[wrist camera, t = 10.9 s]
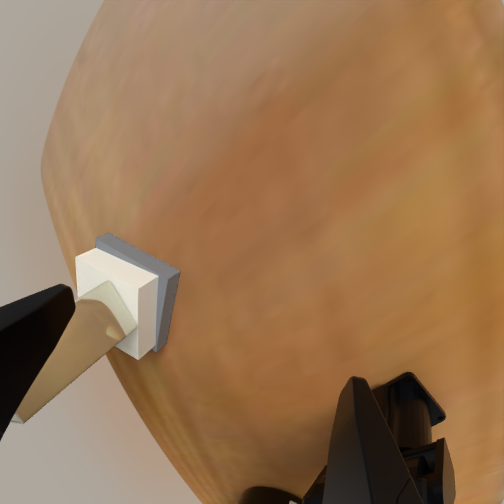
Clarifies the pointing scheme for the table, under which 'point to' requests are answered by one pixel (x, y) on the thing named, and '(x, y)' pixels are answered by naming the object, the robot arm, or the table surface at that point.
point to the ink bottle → (268, 497)
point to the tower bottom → (153, 265)
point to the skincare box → (79, 346)
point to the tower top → (124, 294)
